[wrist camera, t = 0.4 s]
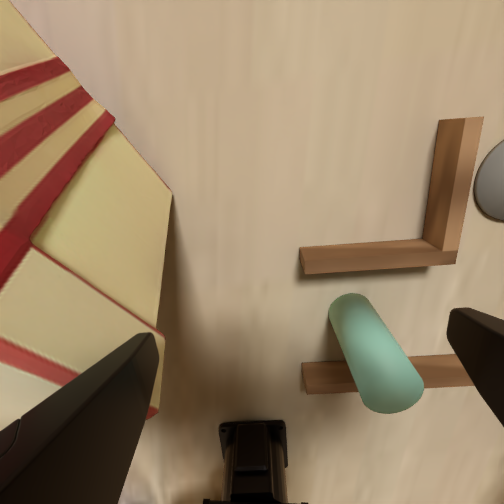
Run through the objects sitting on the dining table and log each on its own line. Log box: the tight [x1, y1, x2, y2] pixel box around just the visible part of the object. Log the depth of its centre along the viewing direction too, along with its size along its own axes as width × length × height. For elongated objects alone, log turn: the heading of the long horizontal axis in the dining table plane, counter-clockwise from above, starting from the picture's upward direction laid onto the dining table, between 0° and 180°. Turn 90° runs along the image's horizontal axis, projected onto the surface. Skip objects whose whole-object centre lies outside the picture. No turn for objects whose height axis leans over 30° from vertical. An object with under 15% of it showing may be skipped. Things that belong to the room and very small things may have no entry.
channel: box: [300, 117, 484, 395], centre depth 21 cm, size 20×21×2 cm
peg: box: [328, 293, 424, 414], centre depth 20 cm, size 4×4×8 cm
